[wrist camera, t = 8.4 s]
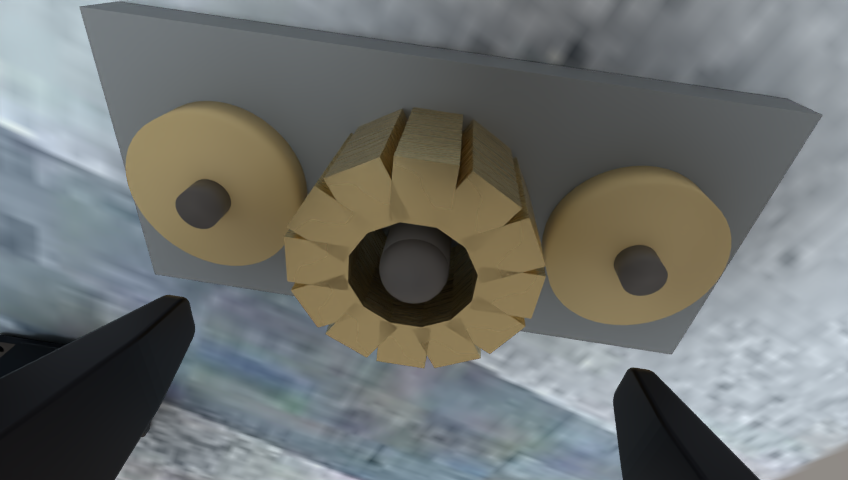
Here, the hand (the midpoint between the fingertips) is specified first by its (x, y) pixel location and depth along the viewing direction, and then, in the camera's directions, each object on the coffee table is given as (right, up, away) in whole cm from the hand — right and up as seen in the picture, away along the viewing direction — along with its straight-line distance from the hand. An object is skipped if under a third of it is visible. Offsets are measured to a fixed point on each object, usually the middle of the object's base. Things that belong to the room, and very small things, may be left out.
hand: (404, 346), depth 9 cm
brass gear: (0, +3, +5) cm, 6 cm away
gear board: (+1, +4, +6) cm, 7 cm away
